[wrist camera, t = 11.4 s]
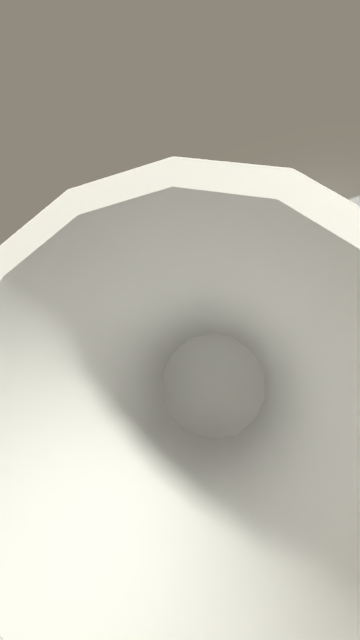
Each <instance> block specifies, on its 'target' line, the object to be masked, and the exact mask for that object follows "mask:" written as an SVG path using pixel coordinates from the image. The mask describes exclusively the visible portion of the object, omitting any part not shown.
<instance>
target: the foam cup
mask: <svg viewBox="0 0 360 640" xmlns="http://www.w3.org/2000/svg"><path fill="white" fill-rule="evenodd" d="M0 640H360V206H358V205H356V204H354V203H353V202H351V201H349V200H347V199H346V198H344V197H342V196H340V195H339V194H337V193H335V192H333V191H332V190H330V189H328V188H326V187H324V186H323V185H321V184H319V183H318V182H316V181H314V180H312V179H311V178H309V177H307V176H305V175H304V174H302V173H300V172H298V171H296V170H295V169H293V168H284V167H274V166H264V165H254V164H244V163H234V162H224V161H213V160H204V159H194V158H184V157H174V156H173V157H170V158H167V159H164V160H160V161H157V162H154V163H151V164H147V165H144V166H141V167H138V168H135V169H132V170H128V171H125V172H122V173H119V174H116V175H113V176H109V177H106V178H103V179H100V180H97V181H93V182H90V183H87V184H84V185H81V186H77V187H74V188H71V189H68V190H67V191H65V192H64V193H63V194H62V195H61V196H59V197H58V198H57V199H56V200H54V201H53V202H52V203H51V204H50V205H48V206H47V207H46V208H45V209H44V210H42V211H41V212H40V213H39V214H38V215H36V216H35V217H34V218H33V219H32V220H30V221H29V222H28V223H27V224H25V225H24V226H23V227H22V228H21V229H19V230H18V231H17V232H16V233H15V234H13V235H12V236H11V237H10V238H8V239H7V240H6V241H5V242H4V243H2V244H1V245H0Z"/></svg>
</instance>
